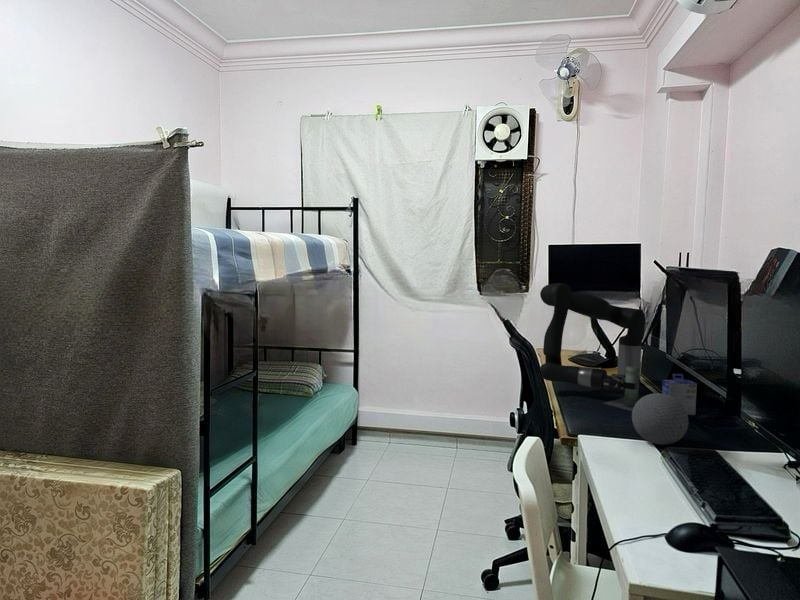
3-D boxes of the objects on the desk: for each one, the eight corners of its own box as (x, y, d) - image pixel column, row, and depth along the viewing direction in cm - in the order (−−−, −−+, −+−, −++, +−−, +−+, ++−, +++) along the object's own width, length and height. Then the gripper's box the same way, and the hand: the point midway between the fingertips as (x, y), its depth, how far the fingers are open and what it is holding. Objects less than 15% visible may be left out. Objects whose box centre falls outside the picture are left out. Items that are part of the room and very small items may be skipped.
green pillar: (628, 402, 188) (630, 365, 187) (640, 405, 185) (642, 368, 183) (621, 404, 186) (623, 367, 185) (633, 407, 182) (635, 369, 181)
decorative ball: (671, 457, 139) (674, 404, 138) (620, 440, 151) (623, 392, 150) (696, 445, 148) (699, 396, 147) (646, 431, 160) (649, 385, 159)
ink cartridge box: (687, 412, 180) (690, 373, 178) (696, 417, 174) (698, 376, 173) (659, 412, 180) (662, 372, 179) (667, 417, 174) (670, 376, 173)
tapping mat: (624, 399, 195) (624, 397, 195) (659, 409, 183) (659, 406, 183) (602, 405, 187) (602, 402, 187) (638, 415, 176) (638, 412, 175)
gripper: (587, 371, 187) (634, 378, 177) (597, 365, 198) (642, 370, 189) (586, 391, 187) (633, 398, 178) (596, 383, 199) (641, 390, 189)
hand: (637, 384), depth 183 cm, fingers open, 8 cm apart
